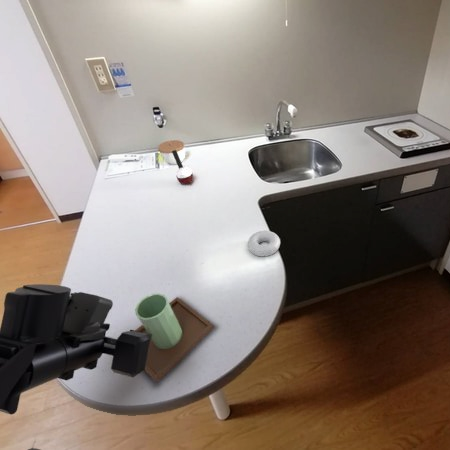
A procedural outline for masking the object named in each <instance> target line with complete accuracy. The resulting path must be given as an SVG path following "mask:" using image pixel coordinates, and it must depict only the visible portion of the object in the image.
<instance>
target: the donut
mask: <svg viewBox="0 0 450 450" xmlns="http://www.w3.org/2000/svg"><path fill="white" fill-rule="evenodd" d="M262 242H268V243H267V244H260V243H262ZM280 246H281V238H280V237H279V235H278V234H277V233H275V232H273V231H271V230H260V231H259V230H258V231H256V232H254V233H253V234H252V235H251V236H250V237H249V238H248V241H247V248H248V250H249V252H250V253H252V254H253V255H254V256H257V257H268V256H271V255H273V254H275V253H277V251H278V250H279V248H280Z"/></svg>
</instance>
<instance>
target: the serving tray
mask: <svg viewBox="0 0 450 450" xmlns="http://www.w3.org/2000/svg"><path fill="white" fill-rule="evenodd" d="M169 303H170V305H171V307H172V309H173V311H174V313H175V315H176V317H177V319H178V322H179V324H180V326H181V328H182V332H183V334H182V337H181V339H180V341H179V342H178V343H177V344H176V345H175V346H173V347H171V348H169V349H159V348H157V347H156V346H155V344H154V343H153V342H152V340H150V344H149V349H148V354H147V360H146V365H145V370H144V372H146V373H147V374H148V376H149V377H150V378H151V379H152V380H153V381H154V382H155V383H156V384H158V383H159V381H161V380H162V379H163V378H164V377H165V376H166V375H167V374H168V373H169V372H170V371H171V370H172V369H173V368H174V367H175V366H177V365H178V364H179V362H181V360H183V359H184V358H185V357H186V356H187V355H188V354H189V353H190V352H191V351H192V350H193V349H194V348H196V346H197V345H198V344H200V342H202V341H203V340H204V339H205V338H206V337H207V336H208V335H210V333H212V331H213V330H214V324H213V323H211V322H210V321H209V320H207V319H205V317H203V316H202V315H200V313H198V312H197V311H196V310H194V309H193V308H192V307H190V305H188V304H187V303H185V302H184V301H183V300H181V299H180V298H179V297H175V298H174V299H173V300H171V301H169ZM134 331H139V332H143V333H145V334H147V332H146V330H145V329H144V327H143V326H142V324H141V325H140V326H139V327H138V328H136V329H135V330H134Z"/></svg>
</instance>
